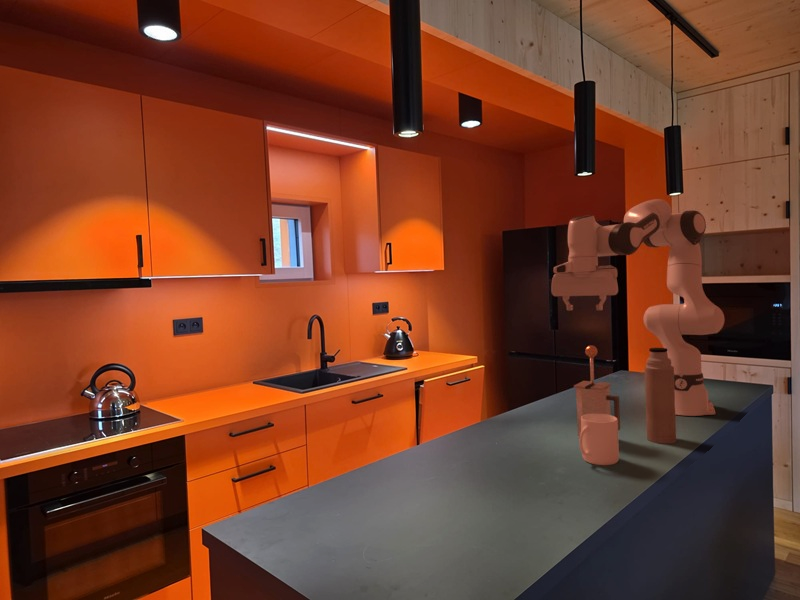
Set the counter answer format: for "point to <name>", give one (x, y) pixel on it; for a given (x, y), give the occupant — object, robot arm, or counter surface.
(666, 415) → the thermos bottle
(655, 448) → the counter surface
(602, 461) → the mug
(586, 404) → the press carafe
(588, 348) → the copper ball on rod
